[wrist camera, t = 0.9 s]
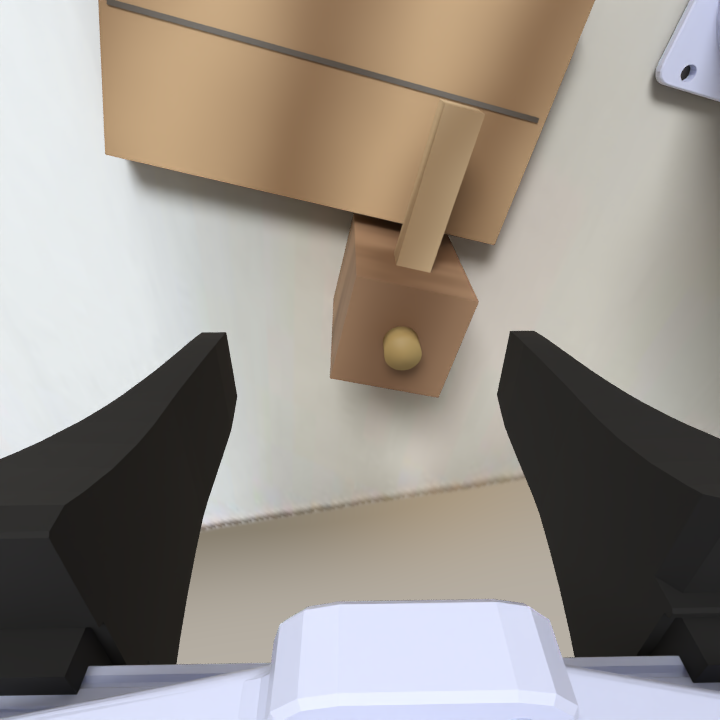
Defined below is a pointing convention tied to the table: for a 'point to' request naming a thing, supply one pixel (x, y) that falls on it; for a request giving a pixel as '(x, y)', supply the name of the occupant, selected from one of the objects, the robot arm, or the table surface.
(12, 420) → the table surface
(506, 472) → the table surface
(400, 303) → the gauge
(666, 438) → the robot arm
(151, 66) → the board
